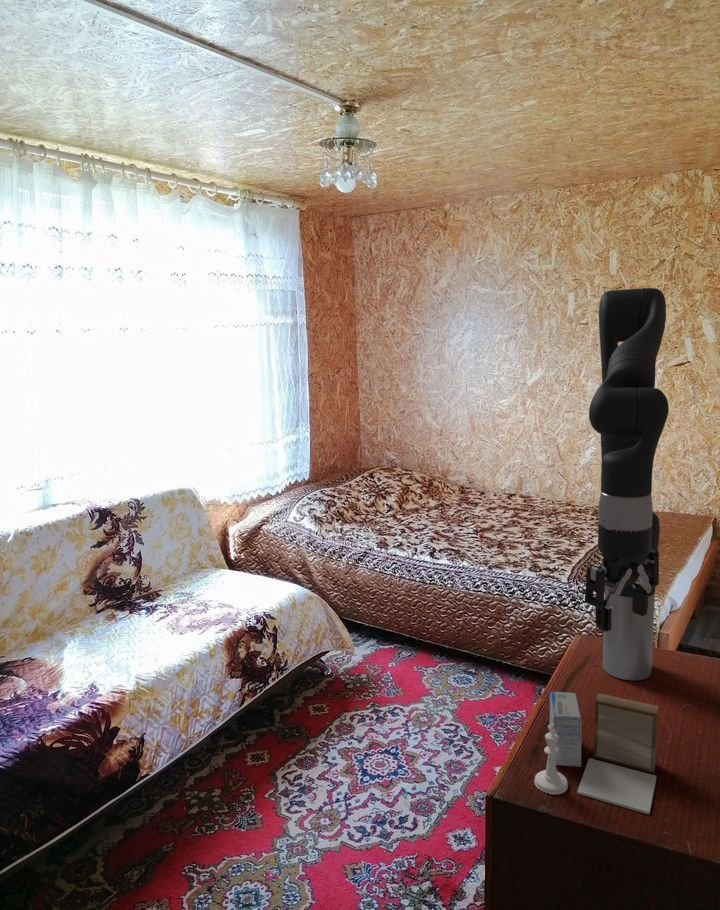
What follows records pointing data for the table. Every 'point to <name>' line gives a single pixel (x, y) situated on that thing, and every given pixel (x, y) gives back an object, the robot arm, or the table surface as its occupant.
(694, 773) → the table surface
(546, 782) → the chess piece
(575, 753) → the medicine box
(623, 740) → the tile
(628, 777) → the mat
